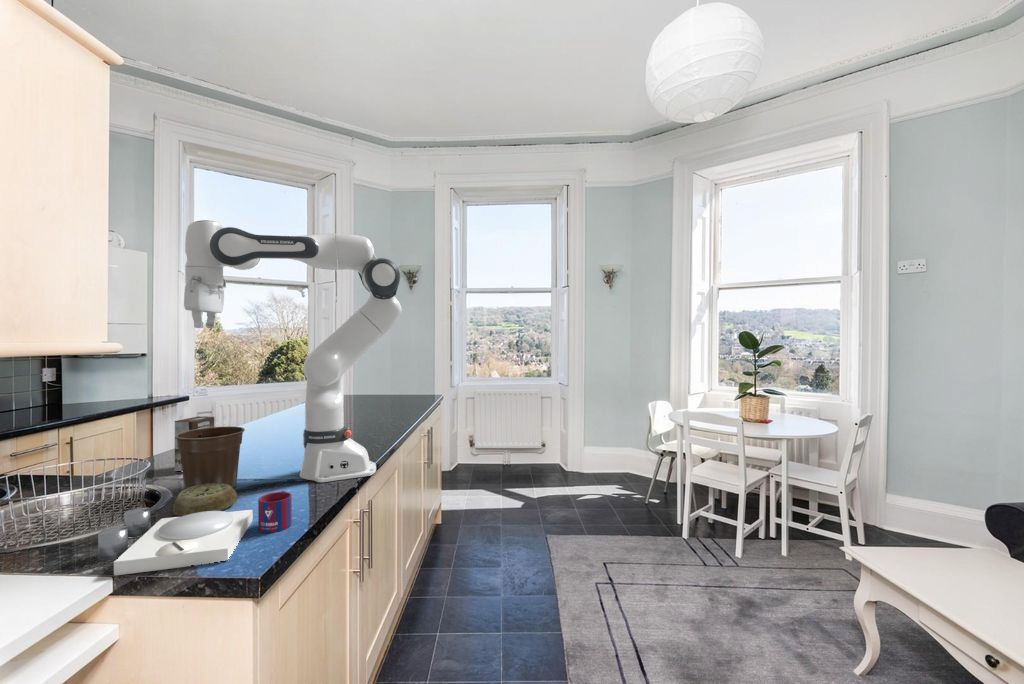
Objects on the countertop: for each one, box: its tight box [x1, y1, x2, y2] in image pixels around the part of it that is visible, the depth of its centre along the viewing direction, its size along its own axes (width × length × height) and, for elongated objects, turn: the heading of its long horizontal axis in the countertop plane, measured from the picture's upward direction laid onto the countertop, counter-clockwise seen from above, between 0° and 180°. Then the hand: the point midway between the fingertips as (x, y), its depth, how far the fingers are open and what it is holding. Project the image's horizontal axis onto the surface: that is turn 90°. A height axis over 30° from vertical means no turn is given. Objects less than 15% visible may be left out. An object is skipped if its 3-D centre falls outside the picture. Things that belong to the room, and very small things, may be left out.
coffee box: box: [174, 415, 215, 472], centre depth 146 cm, size 9×6×16 cm
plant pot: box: [174, 426, 245, 490], centre depth 128 cm, size 16×16×16 cm
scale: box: [113, 509, 254, 576], centre depth 94 cm, size 18×20×3 cm
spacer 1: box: [97, 525, 129, 562], centre depth 90 cm, size 4×4×5 cm
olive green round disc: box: [172, 483, 238, 517], centre depth 114 cm, size 14×13×5 cm
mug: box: [257, 490, 293, 534], centre depth 105 cm, size 7×10×7 cm
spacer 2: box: [123, 506, 152, 537], centre depth 99 cm, size 4×4×5 cm
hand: (204, 328), depth 129 cm, fingers open, 8 cm apart
